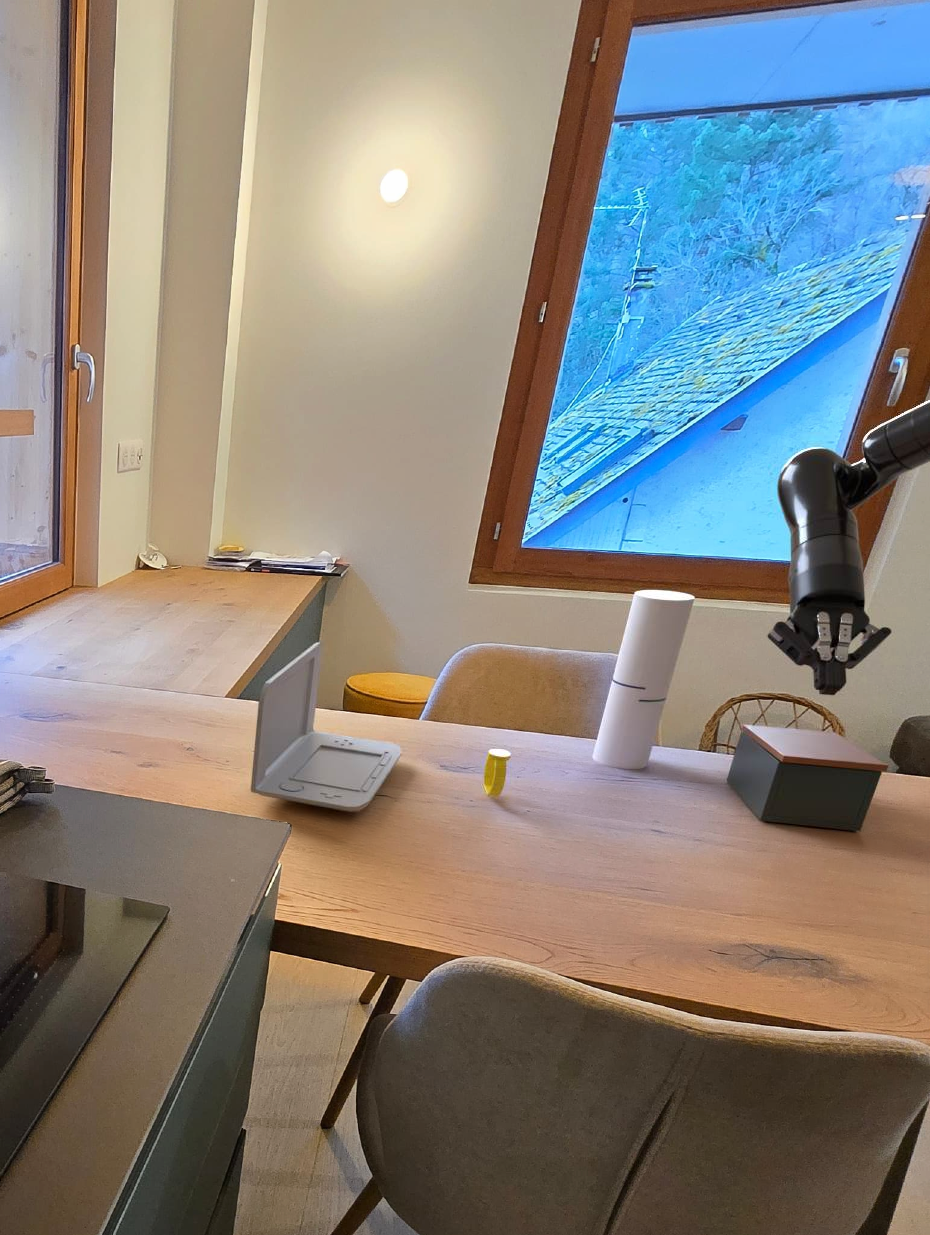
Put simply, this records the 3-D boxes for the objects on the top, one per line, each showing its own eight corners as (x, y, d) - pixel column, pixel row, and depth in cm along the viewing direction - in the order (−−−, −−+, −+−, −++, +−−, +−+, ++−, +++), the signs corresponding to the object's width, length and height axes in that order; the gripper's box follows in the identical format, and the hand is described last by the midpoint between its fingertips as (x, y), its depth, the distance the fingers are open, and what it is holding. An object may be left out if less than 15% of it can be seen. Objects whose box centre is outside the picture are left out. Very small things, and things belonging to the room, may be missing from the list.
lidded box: (860, 831, 119) (882, 771, 116) (759, 820, 123) (778, 762, 120) (814, 792, 133) (833, 738, 130) (725, 783, 136) (741, 730, 133)
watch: (475, 784, 134) (484, 743, 132) (497, 785, 134) (505, 745, 131) (483, 800, 129) (492, 758, 127) (506, 801, 129) (515, 760, 126)
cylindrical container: (595, 752, 148) (637, 588, 137) (648, 761, 144) (696, 593, 133) (588, 766, 143) (631, 596, 132) (643, 776, 139) (692, 602, 128)
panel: (886, 771, 115) (888, 765, 115) (781, 761, 119) (783, 755, 118) (833, 738, 130) (835, 732, 129) (741, 730, 133) (743, 724, 133)
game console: (362, 817, 123) (379, 702, 116) (250, 796, 130) (260, 686, 123) (405, 751, 144) (422, 650, 138) (308, 736, 151) (319, 639, 145)
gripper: (779, 558, 125) (781, 670, 119) (903, 563, 121) (912, 679, 115) (754, 595, 132) (755, 702, 126) (871, 600, 128) (878, 712, 122)
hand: (830, 691), depth 121 cm, fingers closed
